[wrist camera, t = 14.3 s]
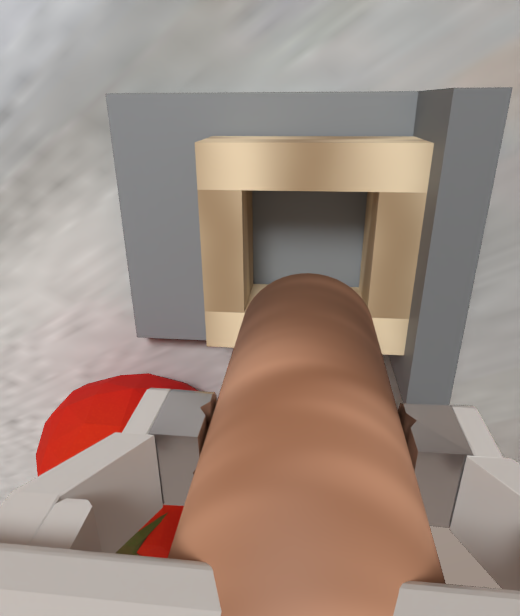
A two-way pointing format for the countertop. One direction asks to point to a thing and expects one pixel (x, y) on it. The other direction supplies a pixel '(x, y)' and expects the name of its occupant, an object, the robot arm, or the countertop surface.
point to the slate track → (309, 206)
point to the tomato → (97, 426)
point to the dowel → (307, 466)
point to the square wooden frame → (312, 177)
